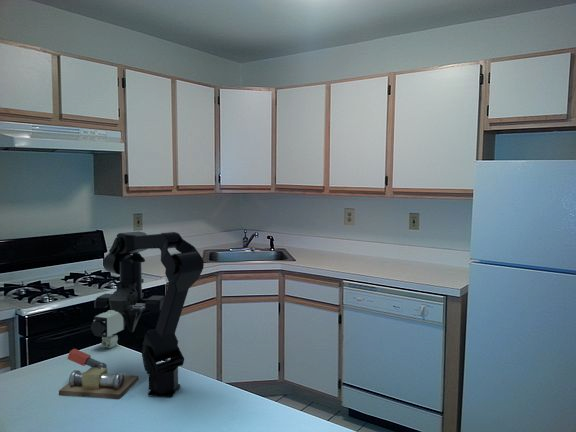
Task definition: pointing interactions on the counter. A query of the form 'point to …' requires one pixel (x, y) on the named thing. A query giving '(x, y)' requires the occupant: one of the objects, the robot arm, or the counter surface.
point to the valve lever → (84, 359)
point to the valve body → (96, 379)
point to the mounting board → (103, 391)
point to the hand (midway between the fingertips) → (131, 332)
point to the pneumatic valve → (108, 327)
